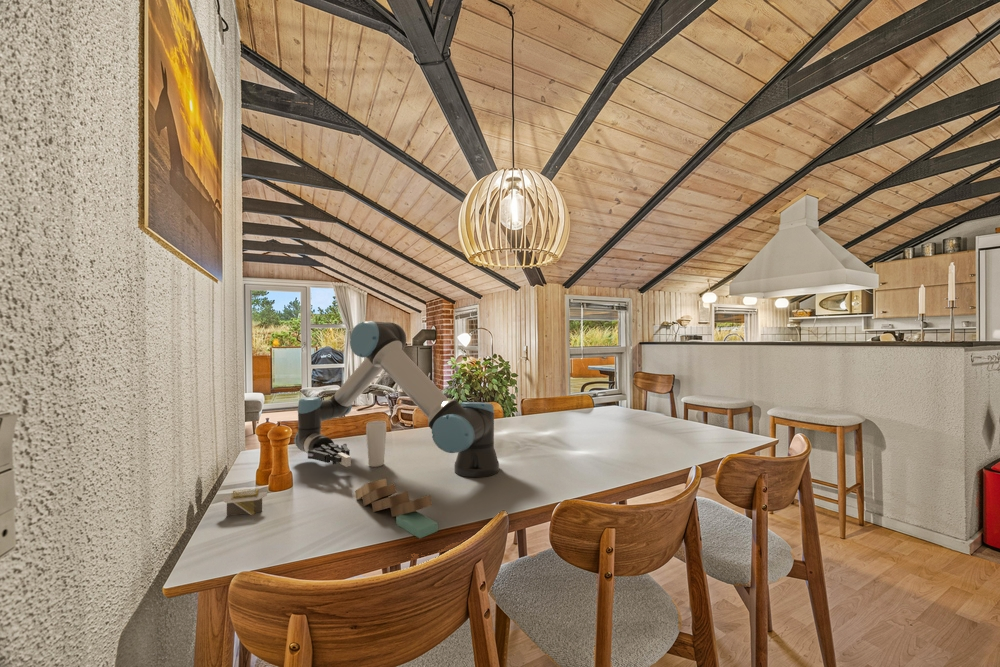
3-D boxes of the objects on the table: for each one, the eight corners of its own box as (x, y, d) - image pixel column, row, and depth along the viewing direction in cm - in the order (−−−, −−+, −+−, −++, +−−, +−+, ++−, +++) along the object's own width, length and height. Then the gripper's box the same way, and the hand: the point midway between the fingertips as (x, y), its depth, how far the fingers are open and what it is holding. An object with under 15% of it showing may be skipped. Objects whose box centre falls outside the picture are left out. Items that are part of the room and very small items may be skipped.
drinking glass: (370, 469, 139) (370, 425, 139) (363, 464, 144) (363, 422, 144) (389, 465, 143) (389, 422, 143) (381, 460, 148) (381, 419, 148)
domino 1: (372, 486, 117) (385, 478, 110) (373, 494, 116) (387, 487, 109) (354, 490, 114) (368, 482, 107) (356, 499, 113) (369, 492, 106)
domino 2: (379, 491, 113) (394, 483, 106) (381, 500, 112) (396, 492, 105) (362, 496, 109) (376, 488, 103) (364, 506, 108) (378, 498, 102)
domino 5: (413, 510, 102) (437, 523, 94) (413, 519, 102) (437, 533, 94) (396, 516, 98) (419, 530, 91) (396, 526, 98) (419, 540, 91)
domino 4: (406, 501, 106) (430, 494, 100) (408, 511, 105) (432, 504, 100) (390, 506, 102) (414, 500, 96) (391, 516, 101) (416, 510, 96)
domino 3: (388, 496, 109) (407, 491, 103) (390, 506, 108) (409, 500, 102) (371, 502, 106) (390, 496, 99) (373, 511, 105) (392, 506, 99)
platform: (277, 521, 100) (278, 495, 100) (192, 532, 95) (192, 504, 95) (287, 502, 112) (287, 479, 112) (211, 511, 106) (211, 486, 106)
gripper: (338, 453, 144) (368, 469, 127) (299, 461, 135) (326, 479, 118) (338, 432, 144) (368, 445, 127) (299, 438, 135) (326, 453, 118)
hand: (348, 461), depth 122 cm, fingers closed
